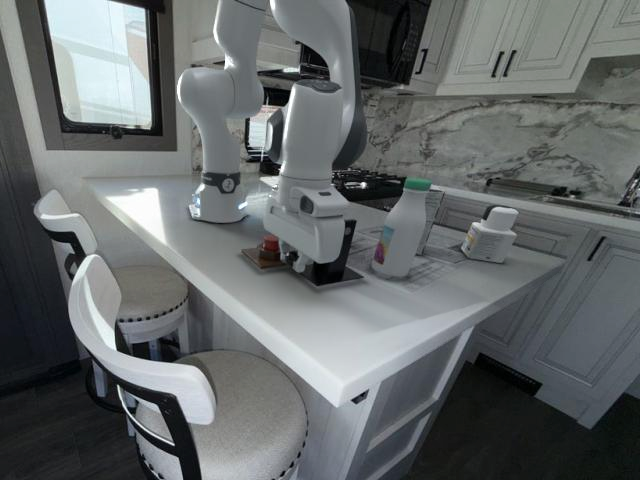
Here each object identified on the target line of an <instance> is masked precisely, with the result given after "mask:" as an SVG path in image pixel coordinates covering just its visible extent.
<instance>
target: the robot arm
mask: <svg viewBox="0 0 640 480" xmlns="http://www.w3.org/2000/svg"><path fill="white" fill-rule="evenodd" d="M269 5H270V10H271V13H272V16H273V18H274V20H275V22H276V23H277V25H278V26H279V27H280V29H281V30H282V31H283V32H284V33H285V34H286V35H287V36H289V37H291V38H292V39H293V40H296V41H298V42H300V43H301V44H303V45H305V46H307V47H309V48H310V49H312V50H313V51H315V52H316V53H317V54H318V55H320V57H321V58H322V59H323V60H324V61H325V63H326V65H327V67H328V71H329V80H328V81H327V80H323V79H314V78H307V79H306V78H305V79H300V80H298V81H296V82H295V83H293V84H292V87H291V90H290V94H289V99H288V102H287V103H286V104H285V105H284V106H283V107H279V108H277V109H276V110H275V111H274V112H273V113H272V114H271V115H270V116H269V117H268V118H267V120H266V127H265V140H264V153H265V154H266V156H267V157H268V158H269V160H271V161H272V162H273V163H274V164H277V165H280V166H281V167H280V170H279V173H278V182H277V183H276V184H274V185H273V187H272V188H271V189H270V192H269V195H268V197H267V199H266V202H265V206H264V213H263V220H262V225H263V229H264V230H265V231H267V233H268V232H269V234H271V235H272V236H276V237H278V238H279V247H280V251H281V257H280V260H282V261H283V262H284V263H285V255H286V254H287V253H288V252H289V251H291V247H292V248H293V249H294V250H296V251H298V256H300V257H299V258H298V260H297V261H294V262H293V268H292V269H293V270H294V271H295V272H297V273H299V272H303V271H304V270H305V265H307V263H308V261H309V260H310V259H311V260H312V261H313V262H314V261H316V262H317V263H320V264H321V263H328V262H333V261H334V260H336V259H337V258H338V256H339V254H340V250H341V246H342V242H343V237H344V231H345V222H344V219H345V218H344V216H345V215H348V212H349V211H350V202H349V201H348V200H347V198H346V197H344V196H343V195H342V194H341V193H340V191H338V190H337V188H336V187H335V186H334V185H333V184H332V181H333V171H334V170H335V171H345V170H346V169H348V168H349V167H351V166H353V164H355V163H356V162H357V161H358V160H359V158H361V156H362V155H363V154H364V152H365V149H366V146H367V144H368V124H367V119H366V116H365V115H366V114H365V111H364V106H363V99H362V98H363V97H362V84H361V83H362V82H361V72H360V71H361V69H360V58H359V57H360V55H359V44H358V33H357V32H358V31H357V25H356V18H355V13H354V11H353V9H352V7H351V6H350V4H348V3H347V1H346V0H218V1H217V7H216V14H215V18H214V24H213V36H214V37H213V38H214V40H215V42H216V44H217V46H218V47H219V49H220V51H222V53H224V61H225V62H224V67H223V69H220V68H213V67H207V66H196V67H190V68H186V69H185V70H183V72H182V73H181V75H180V77H179V79H178V83H177V98H178V101H179V103H180V106H181V108H182V109H183V110H184V111H185V112H186V113H187V114H188V116H190V118H191V119H192V121H193V122H194V124H195V126H196V128H197V130H198V133H199V136H200V139H201V146H202V170H201V175H200V182H201V183H200V185H198V188H197V189H196V190H195V193H193V194H191V202H193V203H192V204H189V205H188V209H189V212H190V215H191V218H192V219H193V220H197V221H204V222H210V223H217V224H218V223H219V224H220V223H221V224H228V223H235V222H239V221H241V220H242V219H243V218H244V217H247V216H248V212H247V211H245V209H244V207H245V206H247V205H248V201H245V200H244V198H245V197H244V190H243V189H242V187H241V186H240V185H241V181H242V176H241V175H242V173H241V171H240V169H241V168H240V166H241V143H240V141H239V140H238V139H237V137H236V136H235V135H233V134H231V133H232V132H231V131H230V129H229V127H228V123H227V121H228V120H227V119H229V120H245V119H250V118H254V117H256V116H257V115H258V114H259V113H260V112H261V110H262V108H263V105H264V102H265V91H264V86H263V84H262V81H261V80H260V78H259V75H258V69H257V68H258V67H257V55H258V48H259V47H258V46H259V43H260V37H261V33H262V29H263V26H264V22H265V18H266V13H267V10H268V6H269ZM244 201H245V202H244ZM341 215H343V217H342V216H341Z"/></svg>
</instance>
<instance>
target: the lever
mask: <svg viewBox="0 0 640 480" xmlns="http://www.w3.org/2000/svg"><path fill="white" fill-rule="evenodd" d="M343 219H344V220H346V218H343ZM299 257H300V256H298V250H290V251H289V252H288V253H287V254H286V255H285V263H286V264H287V265H286V266H288V267H290V268H292V267H293V262H294V261H297V260H298V258H299Z"/></svg>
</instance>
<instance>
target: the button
mask: <svg viewBox="0 0 640 480" xmlns="http://www.w3.org/2000/svg"><path fill="white" fill-rule="evenodd" d="M262 243H263V249H265V250H269V251H276V250H279V238H278V237H276V236H275V235H272V234H271V235H270V234H269V235H264V237H263V242H262Z"/></svg>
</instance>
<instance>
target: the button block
mask: <svg viewBox="0 0 640 480" xmlns="http://www.w3.org/2000/svg"><path fill="white" fill-rule="evenodd" d="M241 253H242V254H243V255H244V256H245V257H246V258H248V260H249V261H251V262H252V263H253V264H254V265H255V266H256V267H257V268H258V269H260V270H265V269H270V268H271V269H272V268H277V267H285V266H288V265H287V264H286V263H284V262H283V261H282V260H280V257H281V251H280V247H279V250H276V251H269V250H265V249H263V242H259V243H258V244H256V247H249V248H242V249H241Z"/></svg>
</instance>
